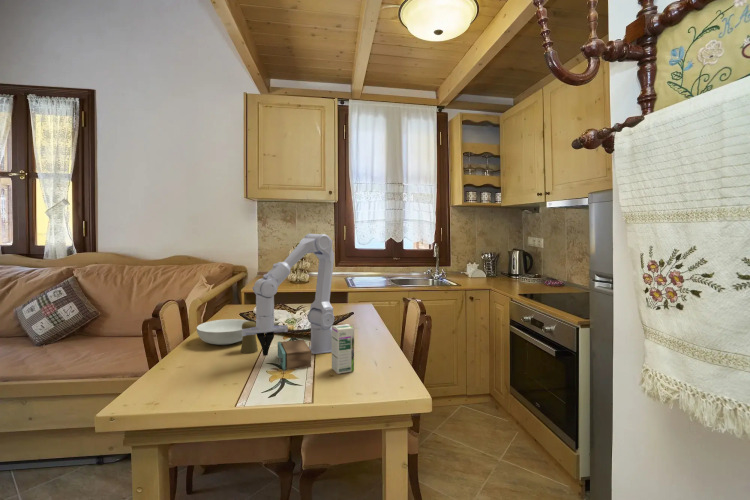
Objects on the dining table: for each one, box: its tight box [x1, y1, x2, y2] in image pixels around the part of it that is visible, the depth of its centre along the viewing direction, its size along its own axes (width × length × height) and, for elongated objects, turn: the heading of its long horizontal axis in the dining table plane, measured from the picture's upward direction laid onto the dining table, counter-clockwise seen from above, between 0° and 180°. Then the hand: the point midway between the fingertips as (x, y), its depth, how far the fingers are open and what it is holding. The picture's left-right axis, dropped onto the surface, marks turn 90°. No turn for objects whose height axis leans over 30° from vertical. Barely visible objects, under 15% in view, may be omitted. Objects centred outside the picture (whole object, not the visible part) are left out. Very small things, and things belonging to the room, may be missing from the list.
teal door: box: [277, 341, 286, 371], centre depth 122 cm, size 2×13×5 cm, turn 22°
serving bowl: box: [196, 318, 249, 346], centre depth 144 cm, size 21×21×7 cm
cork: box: [240, 320, 258, 355], centre depth 133 cm, size 6×6×11 cm
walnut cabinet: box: [281, 339, 312, 371], centre depth 124 cm, size 8×13×6 cm, turn 23°
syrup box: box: [331, 323, 355, 375], centre depth 117 cm, size 6×6×14 cm
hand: (265, 354), depth 121 cm, fingers closed
